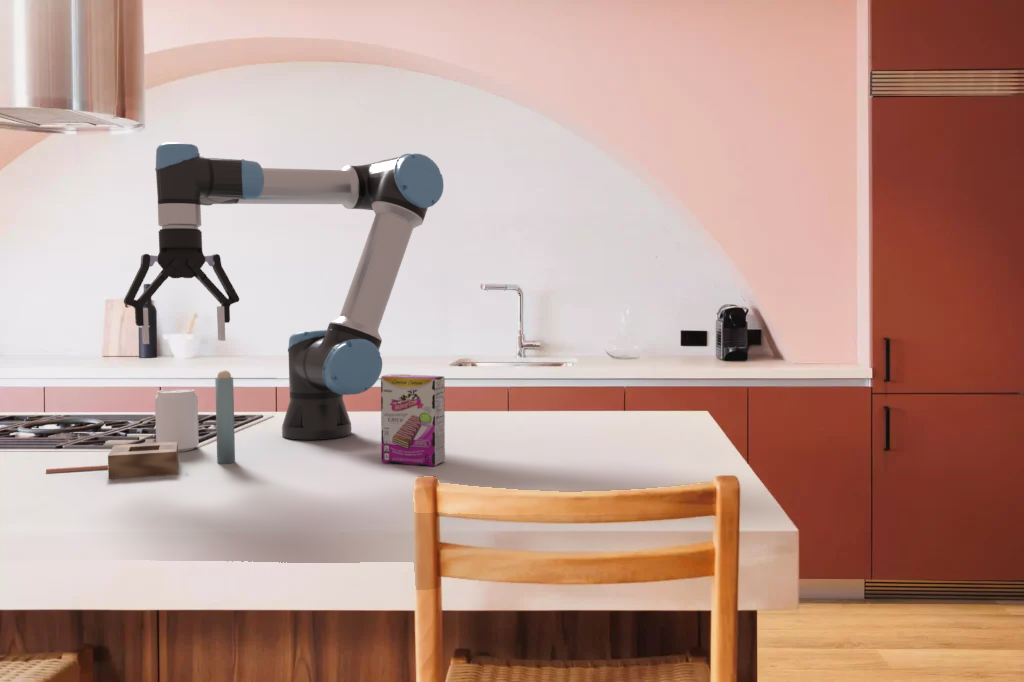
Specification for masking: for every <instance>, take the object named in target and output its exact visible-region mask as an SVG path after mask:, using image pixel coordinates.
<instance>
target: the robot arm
mask: <svg viewBox="0 0 1024 682" xmlns="http://www.w3.org/2000/svg"><path fill="white" fill-rule="evenodd" d="M155 151H156V154H155V169H154V170H155V175H156V177H155V178H156V189H157V190H156V191H157V192H156V193H157V218H158V220H157V223H158V226H159V227H161V228H160V229H159V231H158V246H159V247H158V248H159V250H158V255H152V254H151V255H150V254H148V253H144V254H142V255H141V257H140V267H139V268H138V271H137V273H136V275H135V277H134V279H133V281H132V282H131V284H130V286H129V289H128V290H127V293H126V294H125V297H124V299H123V304H124V305H127V306H130V307H133V309H134V315H135V316H134V317H135V320H134V321H135V325H136V326H138V327H139V326H141V335H142V336H141V337H142V338H141V339H142V344H144V345H150V329H149V327H150V326H149V308H148V307H144V306H145V305H146V304H147V302H148V301H150V299H151V298H152V296H153V295H154V294H155V293H156V291H157V290H159V288H161V286H162V285H163V284H164V282H165V281H167V280H168V278H171V279H181V278H184V279H192V278H195V279H197V280H198V281H199V282H200V283H201V284H202V286H204V288H205V289H206V290H207V291H208V292H209V293H210V294H211V295H212V296H213V297H214V298H215V300H217V302H219V304H220V305H221V306H220V305H217V306H216V316H217V317H216V318H217V319H216V321H217V341H220V342H221V341H223V342H224V341H226V324H227V323H230V321H231V311H230V307H231V305H233V304H236V303H239V301H240V297H239V295H238V293H237V291H236V289H235V287H234V285H233V284H232V283H231V280H230V279H229V277H228V274H226V272H225V270H224V268H223V266H222V261H221V256H220V254H218V253H216V254H215V253H214V254H211V255H205V254H204V253H203V239H202V234H203V233H202V231H201V229H199V228H200V227H201V226H202V211H201V210H202V209H201V206H212V205H233V204H234V205H236V204H237V205H238V204H240V205H241V204H242V205H245V204H246V205H256V204H257V205H260V204H261V205H342V206H343V207H344V208H345V209H348V210H366V211H373V212H374V215H375V216H374V218H373V221H372V224H371V227H370V230H369V233H368V235H367V238H366V241H365V243H364V246H363V249H362V253H361V256H360V258H359V261H358V263H357V266H356V268H355V272H354V275H353V277H352V281H351V284H350V286H349V288H348V291H347V294H346V298H345V301H344V302H343V306H342V309H341V312H340V315H339V317H338V318H336V319H334V320H332V321H330V322H329V323H328V326H327V329H323V330H310V331H301V332H296V333H293V334H292V335H290V336H289V339H288V347H287V352H288V374H289V375H288V376H289V377H288V381H289V385H288V386H289V388H288V389H289V403H288V406H287V410H286V413H285V415H284V419H283V422H282V427H281V431H282V432H281V436H282V437H283V438H285V439H290V440H304V441H305V440H308V441H312V440H314V441H315V440H316V441H317V440H330V439H337V438H343V437H347V436H349V435H351V434H352V422H351V419H350V417H349V413H348V410H347V408H346V404H345V402H344V395H345V396H346V395H347V396H349V395H354V396H355V395H359V394H363V393H365V392H367V391H368V390H370V389H371V388H372V387H373V386H374V385H375V384H376V383H377V382H378V380H379V378H380V377H381V373H382V370H383V358H382V357H381V352H380V348H381V345H382V342H383V339H382V337H381V335H380V333H379V328H380V325H381V323H382V320H383V316H384V314H385V311H386V307H387V305H388V302H389V300H390V297H391V293H392V291H393V288H394V285H395V283H396V279H397V276H398V273H399V270H400V267H401V264H402V262H403V259H404V256H405V254H406V250H407V248H408V245H409V242H410V239H411V235H412V233H413V231H414V229H415V228H416V227H420V226H421V225H423V223H424V220H425V217H426V214H427V211H428V208H430V207H433V206H435V204H437V203H438V201H440V200H441V197H442V195H443V192H444V178H443V175H442V173H441V170H440V168H439V166H438V165H437V163H436V162H435V161H434V160H433V159H431V158H430V157H429V156H427V155H425V154H421V153H405V154H402V155H400V156H396V157H393V158H388V159H383V160H380V161H376V162H372V163H367V164H363V165H346V166H344V167H343V168H342V169H341V170H340V169H312V168H311V169H310V168H309V169H308V168H307V169H306V168H274V167H273V168H269V167H262V166H261V164H260V163H258V161H254V160H247V159H244V158H243V159H233V158H231V159H230V158H218V157H216V158H215V157H206V156H201V155H200V152H199V147H198V146H197V145H195V144H191V143H186V142H185V143H184V142H164V143H162V144H159V145H158V146H157V148H156V150H155ZM156 262H157V264H158V265H159V266H160V267H161V269H162V270H161V271H160V272H159V273H158V275H157V276H156V278H155V279H153V281H152V282H151V283H150V285H148V286H147V288H146V289H145V290H144V292H142V294H140V296H139V297H138V299H135V298H136V296H137V295H138V293H139V290H140V287H141V286H142V284H143V283H144V280H145V278H146V276H147V274H148V271H149V270H150V268H151V267H153V266H154V264H155V263H156ZM205 263H207V264H208V266H210V267H212V270H213V272H214V273H215V275H216V276H217V279H218V281H219V283H220V284H221V287H222V288H223V290H224V291H225V293H226V295H227V296H225V294H224V293H223V292H222V291H221V290H220V289H219V287H217V286H216V284H215V283H214V282H212V280H211V278H209V277H208V276H207V274H206V273H205V272H204V271H203V270H202V268H203V266H204V264H205Z"/></svg>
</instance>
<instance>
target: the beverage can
mask: <svg viewBox="0 0 1024 682" xmlns="http://www.w3.org/2000/svg"><path fill="white" fill-rule="evenodd" d="M156 393H157V394H156V396H155V398H154V410H155V411H154V413H155V417H154V418H155V443H163V442H178V453H180V452H187V451H191V450H194V449H195V448H197V447H199V408H198V402H199V401H198V395H197V394H196V390H195V389H193V388H170V389H169V388H168V389H163V390H162V389H160V390H157V391H156Z"/></svg>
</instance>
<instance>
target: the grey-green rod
mask: <svg viewBox="0 0 1024 682" xmlns="http://www.w3.org/2000/svg"><path fill="white" fill-rule="evenodd" d="M214 379H215V380H214V381H215V382H214V383H215V385H214V386H215V389H214V390H215V422H216V425H215V426H216V463H217V464H220V465H221V464H222V465H225V464H226V465H227V463H229V464H233V462H234V463H236V447H235V446H236V445H235V443H236V442H235V441H236V440H235V400H234V399H235V397H234V377H233V376H232V375H231V373H230V371H229V370H226V369H223V370H220V371H219V372H218V374H217V376H216V377H215V378H214Z"/></svg>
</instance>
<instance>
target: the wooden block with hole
mask: <svg viewBox="0 0 1024 682" xmlns="http://www.w3.org/2000/svg"><path fill="white" fill-rule="evenodd" d="M107 465H108V469H107V470H108V475H107V476H108V479H109V480H110V479H125V478H138V477H139V478H140V477H142V478H143V477H155V476H168V475H177V474H178V468H179V452H178V442H163V443H156V442H148V443H131V444H129V443H128V444H114V445H113V446H112V447H111V450H110V451H109V453H108V454H107Z"/></svg>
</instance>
